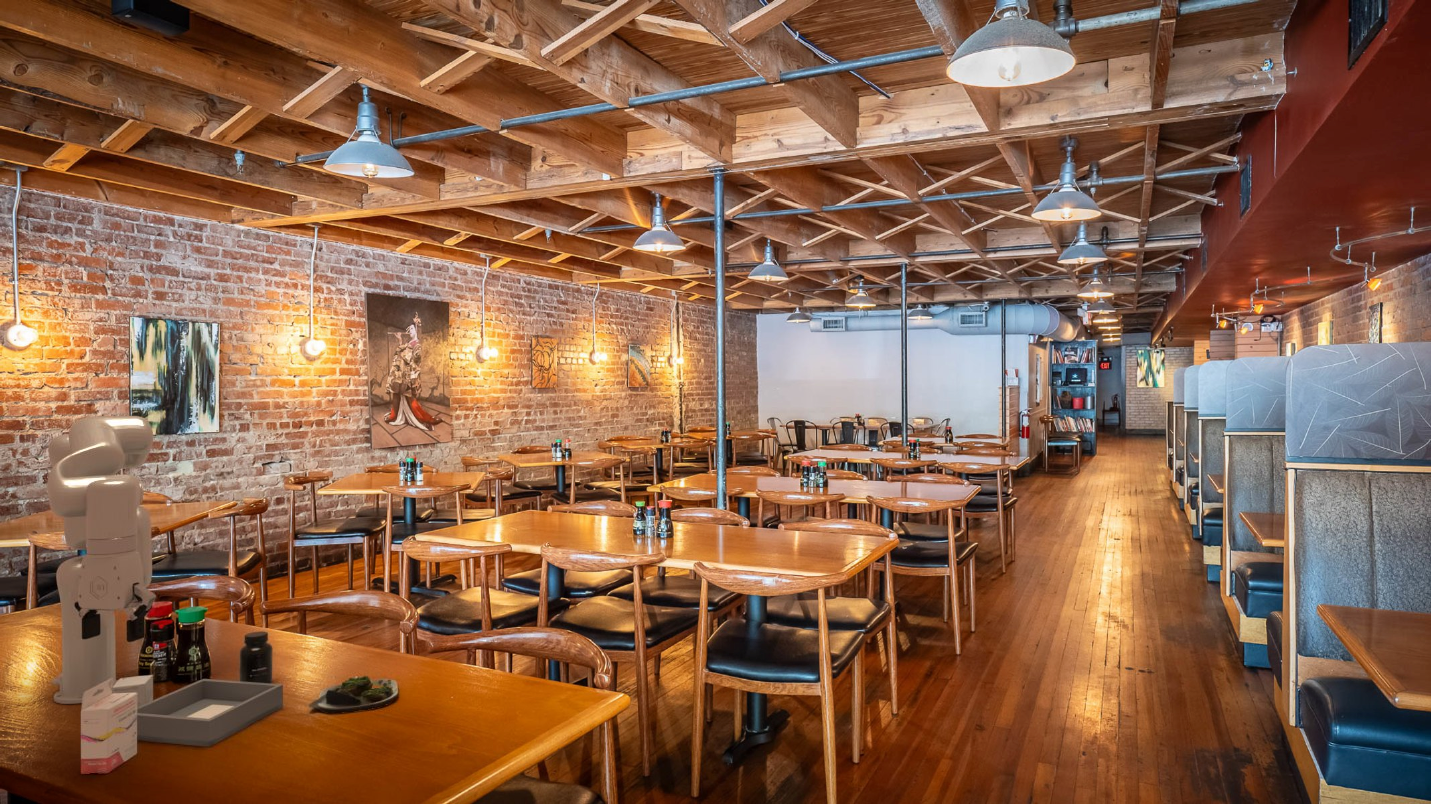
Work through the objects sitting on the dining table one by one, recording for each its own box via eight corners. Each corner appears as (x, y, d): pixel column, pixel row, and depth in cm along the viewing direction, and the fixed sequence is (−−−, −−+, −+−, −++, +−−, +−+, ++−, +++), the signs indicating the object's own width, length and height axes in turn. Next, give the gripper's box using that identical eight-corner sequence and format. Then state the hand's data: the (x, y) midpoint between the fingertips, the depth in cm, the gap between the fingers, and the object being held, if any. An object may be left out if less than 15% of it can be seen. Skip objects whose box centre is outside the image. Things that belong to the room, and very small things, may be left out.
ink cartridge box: (109, 774, 145) (108, 692, 145) (79, 775, 144) (79, 693, 144) (139, 753, 153) (138, 676, 153) (111, 754, 153) (110, 676, 153)
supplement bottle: (257, 691, 185) (257, 639, 185) (232, 689, 187) (231, 637, 187) (279, 680, 192) (279, 630, 192) (254, 679, 193) (254, 629, 193)
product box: (111, 722, 168) (110, 687, 168) (120, 711, 174) (119, 677, 174) (146, 717, 170) (145, 683, 170) (153, 707, 176) (153, 674, 176)
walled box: (121, 739, 160) (121, 714, 160) (203, 701, 179) (203, 678, 179) (209, 747, 156) (209, 721, 156) (283, 707, 176) (282, 684, 176)
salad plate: (317, 688, 188) (317, 669, 188) (399, 679, 194) (399, 660, 194) (306, 720, 170) (306, 698, 170) (397, 708, 176) (397, 687, 176)
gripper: (53, 548, 147) (54, 642, 147) (134, 551, 144) (135, 647, 144) (92, 541, 154) (93, 630, 154) (169, 543, 151) (170, 635, 151)
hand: (113, 638), depth 149 cm, fingers open, 9 cm apart
